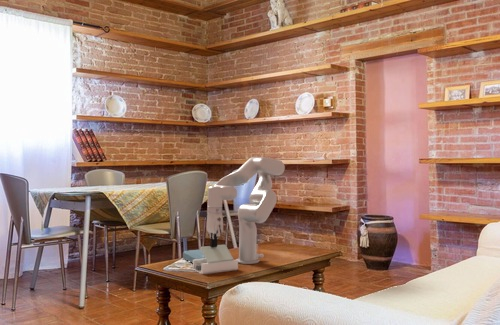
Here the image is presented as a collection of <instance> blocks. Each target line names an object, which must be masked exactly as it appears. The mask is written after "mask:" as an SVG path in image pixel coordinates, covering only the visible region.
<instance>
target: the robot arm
mask: <svg viewBox="0 0 500 325" xmlns="http://www.w3.org/2000/svg"><path fill="white" fill-rule="evenodd" d="M285 169H286V166H285V164H284V162H283V161H281V160H280V159H275V158H271V157H265V156H252V157H250V158H249V159H247V160H246V162H244V163H243V164H242V165H241V166H240V167H239V168H238V169H236V171H233V172H231V173H229V174H228V175H225V176H224V177H222V178H221V179H219V180H218V181H217V182H216V184H214V185H212V186H209V187H207V203H206V204H207V208H206V209H207V210H206V214H207V215H206V231H207V234H208V235H209V239H210V241H209V242H210V245H209V246H210V247H217V245H218V239H219V237H220V236H221V234H223V233H224V219H223V201H234V200H235V199H236V198H237V196H238V191H237V188H236V187H238V186H242V185H245V184H248V183H249V181H250V180H251V179H253V177H255V175H256V174H258V182H257V183H256V185H255V186H254V188H253V190H252V191H251V192H250V195H249V197H248V201H249V203H243V204H241V205H239V207H238V209H237V218H238V224H239V225H238V229H239V230H238V231H239V232H238V233H239V234H238V236H239V237H238V239H239V240H238V241H239V242H238V258H236V259H235V260H238V264H241V265H255V264H258V263H259V262H260V259H259V258H264V257H265V255H264V253H258V252H257V244H258V242H257V234H258V231H257V225H256V223H257V224H263V223H265V222H266V221H267V219H268V218H269V217H270V214H271V213H272V212H273V209H274V208H275V206H276V204H277V198H278V197H277V194H276V192H275V191H274V190H272V189H273V180H272V177H271V176H281V175H283V174H284V172H285Z"/></svg>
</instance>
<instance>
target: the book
mask: <svg viewBox="0 0 500 325" xmlns="http://www.w3.org/2000/svg"><path fill="white" fill-rule="evenodd" d="M182 259H183V260H185V259H186V260H185V261H187V260H188V261H190V262H192V263H193V260H195V259H205V256H204V254H203V252H202V250H201V249H189V250H184V251H183V252H182ZM188 261H187V262H188ZM190 262H189V263H190ZM192 263H191V264H192Z"/></svg>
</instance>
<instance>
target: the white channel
mask: <svg viewBox="0 0 500 325" xmlns="http://www.w3.org/2000/svg"><path fill="white" fill-rule="evenodd" d="M193 269H194V270H196V271H197V273H199V274H200V275H208V274H215V273H216V274H218V273H223V272H230V271H233V272H234V271H238V269H239V263H238V260H236V259H233V261H224V262H216V263H208V262H207V260H206V258H205V259H195V260H193V264H192V270H193ZM194 270H193V271H194ZM196 271H195V272H196Z"/></svg>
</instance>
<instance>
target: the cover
mask: <svg viewBox="0 0 500 325" xmlns="http://www.w3.org/2000/svg"><path fill="white" fill-rule="evenodd" d="M200 249H201V250H202V252H203V254H204V256H205V258H206V260H207V262H208V263H216V262H224V261H233V260H234V257H233V256H232V254H231V252H230V250H229V248H228V247H227V245H226V244H217V247H210V245H207V246H205V245H204V246H200ZM200 249H199V250H200Z"/></svg>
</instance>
